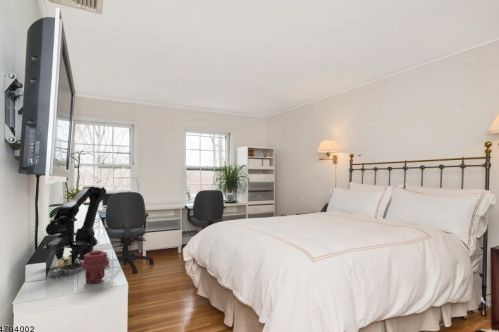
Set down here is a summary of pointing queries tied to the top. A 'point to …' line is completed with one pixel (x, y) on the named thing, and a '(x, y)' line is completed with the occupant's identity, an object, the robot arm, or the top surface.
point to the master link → (64, 261)
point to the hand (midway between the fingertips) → (66, 263)
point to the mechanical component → (95, 265)
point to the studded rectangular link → (61, 270)
